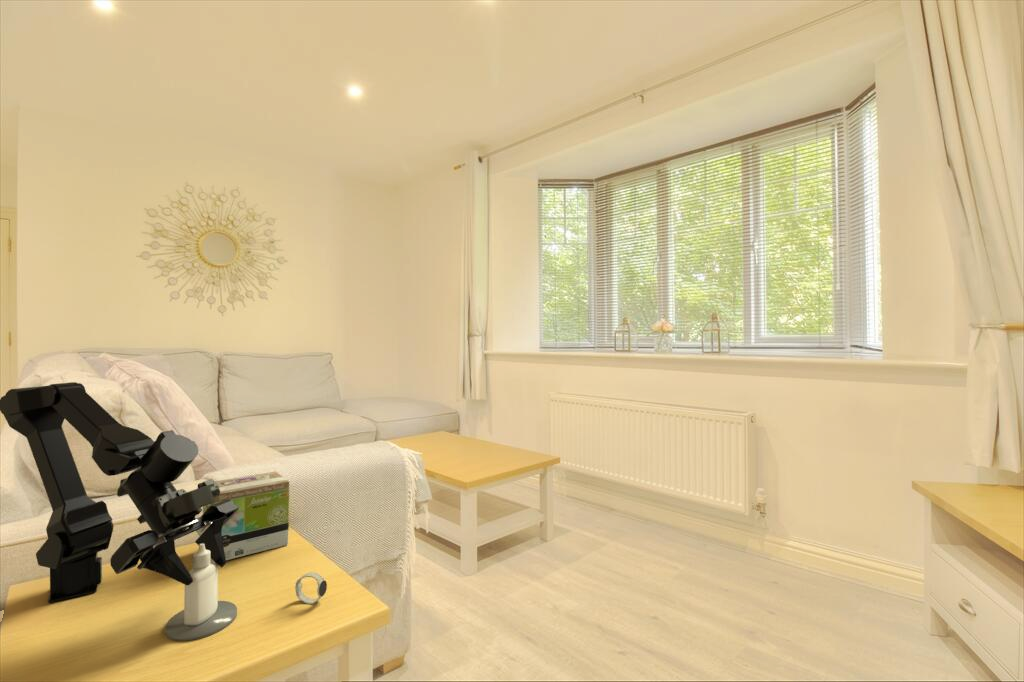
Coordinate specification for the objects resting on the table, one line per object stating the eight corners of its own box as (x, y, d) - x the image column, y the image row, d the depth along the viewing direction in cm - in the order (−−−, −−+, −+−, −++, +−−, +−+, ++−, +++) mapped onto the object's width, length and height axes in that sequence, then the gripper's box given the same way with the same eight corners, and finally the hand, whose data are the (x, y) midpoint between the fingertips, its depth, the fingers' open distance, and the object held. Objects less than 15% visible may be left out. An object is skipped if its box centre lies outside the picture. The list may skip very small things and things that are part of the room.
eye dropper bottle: (226, 612, 82) (226, 541, 82) (190, 629, 77) (190, 554, 77) (212, 605, 84) (212, 535, 84) (175, 621, 79) (176, 547, 79)
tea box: (212, 567, 99) (211, 494, 98) (201, 550, 106) (201, 482, 106) (290, 545, 109) (290, 479, 108) (275, 531, 116) (275, 469, 116)
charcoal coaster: (165, 649, 73) (165, 645, 73) (164, 616, 82) (164, 613, 82) (241, 625, 79) (241, 622, 79) (233, 597, 87) (232, 594, 87)
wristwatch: (319, 607, 85) (319, 579, 85) (292, 604, 86) (292, 576, 86) (328, 598, 88) (328, 571, 88) (302, 595, 88) (302, 568, 88)
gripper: (123, 486, 72) (180, 572, 69) (230, 455, 90) (279, 522, 87) (86, 531, 74) (139, 616, 72) (197, 492, 92) (243, 559, 89)
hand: (207, 574), depth 80 cm, fingers open, 6 cm apart
